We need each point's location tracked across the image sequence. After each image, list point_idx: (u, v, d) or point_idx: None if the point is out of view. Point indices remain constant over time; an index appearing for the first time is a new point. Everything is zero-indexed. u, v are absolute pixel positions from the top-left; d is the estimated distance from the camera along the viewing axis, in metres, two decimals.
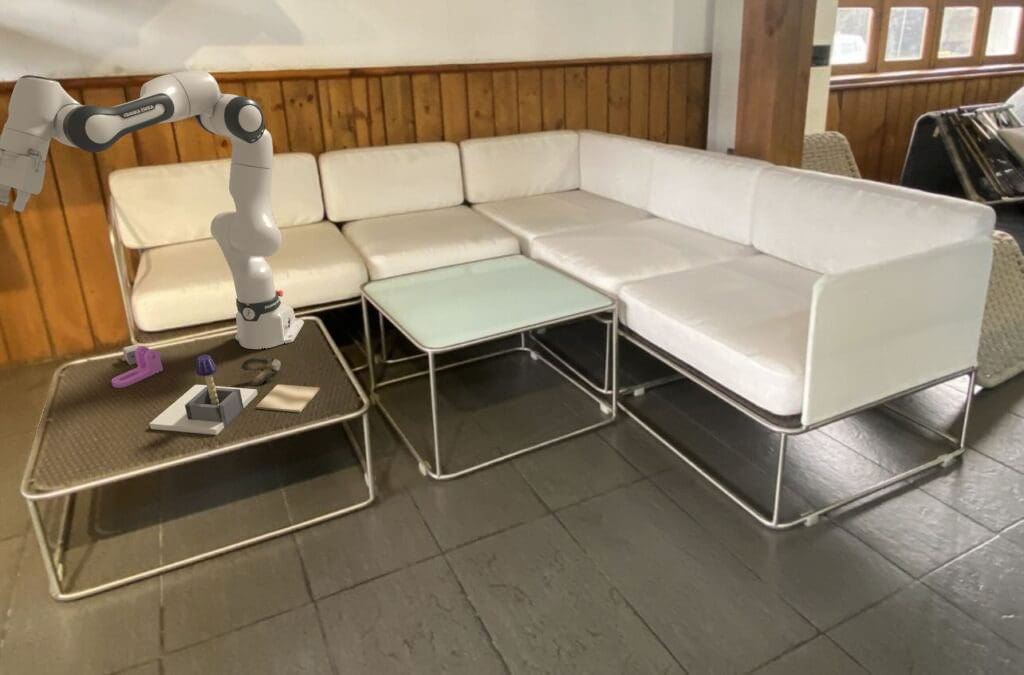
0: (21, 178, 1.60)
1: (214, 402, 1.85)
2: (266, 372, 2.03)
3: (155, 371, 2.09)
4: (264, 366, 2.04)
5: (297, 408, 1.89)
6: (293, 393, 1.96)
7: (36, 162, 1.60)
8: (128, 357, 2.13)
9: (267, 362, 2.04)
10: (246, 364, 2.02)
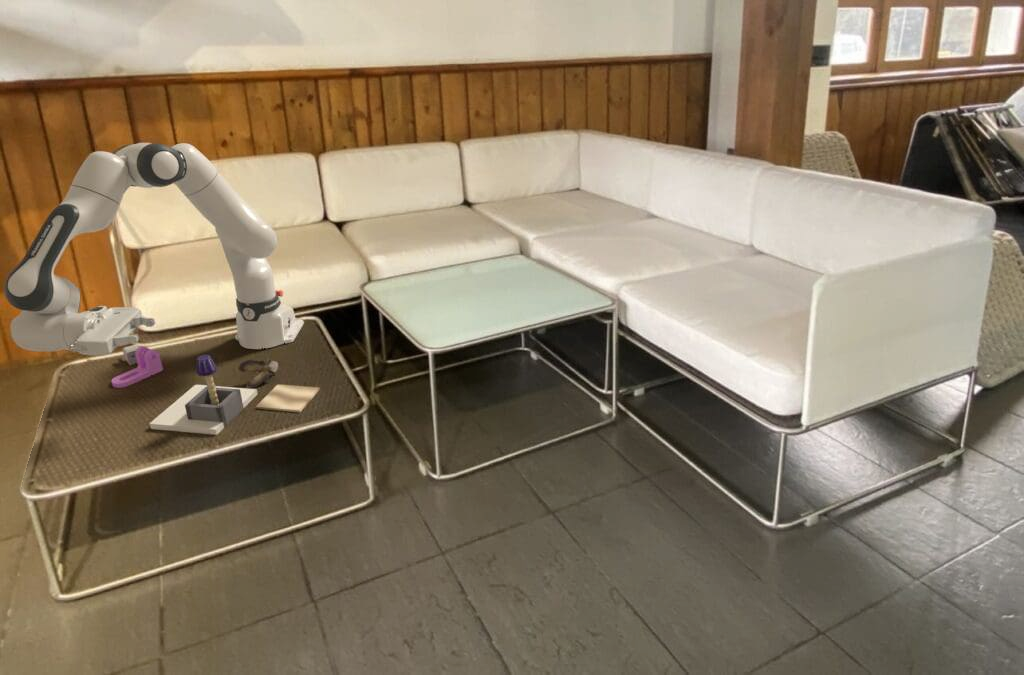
0: None
1: (214, 402, 1.85)
2: (263, 374, 2.02)
3: (155, 371, 2.09)
4: (261, 368, 2.03)
5: (297, 408, 1.89)
6: (293, 393, 1.96)
7: None
8: (128, 357, 2.13)
9: (264, 364, 2.03)
10: (243, 366, 2.01)
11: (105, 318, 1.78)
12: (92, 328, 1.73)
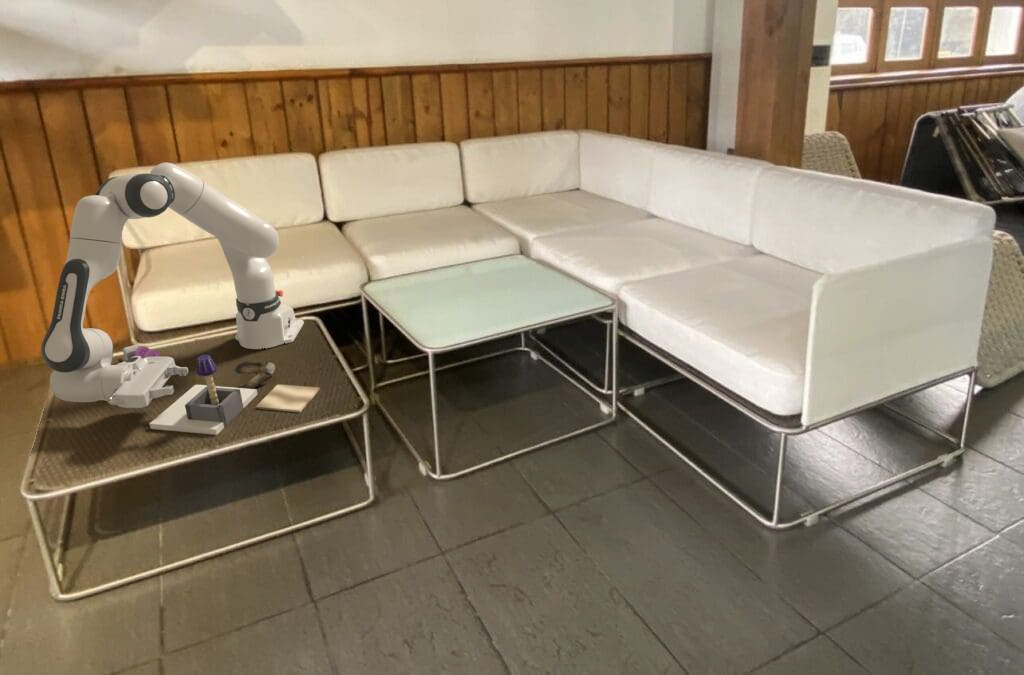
0: None
1: (214, 402, 1.85)
2: (260, 375, 2.01)
3: None
4: (258, 369, 2.02)
5: (297, 408, 1.89)
6: (293, 393, 1.96)
7: None
8: (128, 357, 2.13)
9: (261, 365, 2.02)
10: (240, 368, 2.00)
11: (140, 369, 1.84)
12: (129, 380, 1.79)
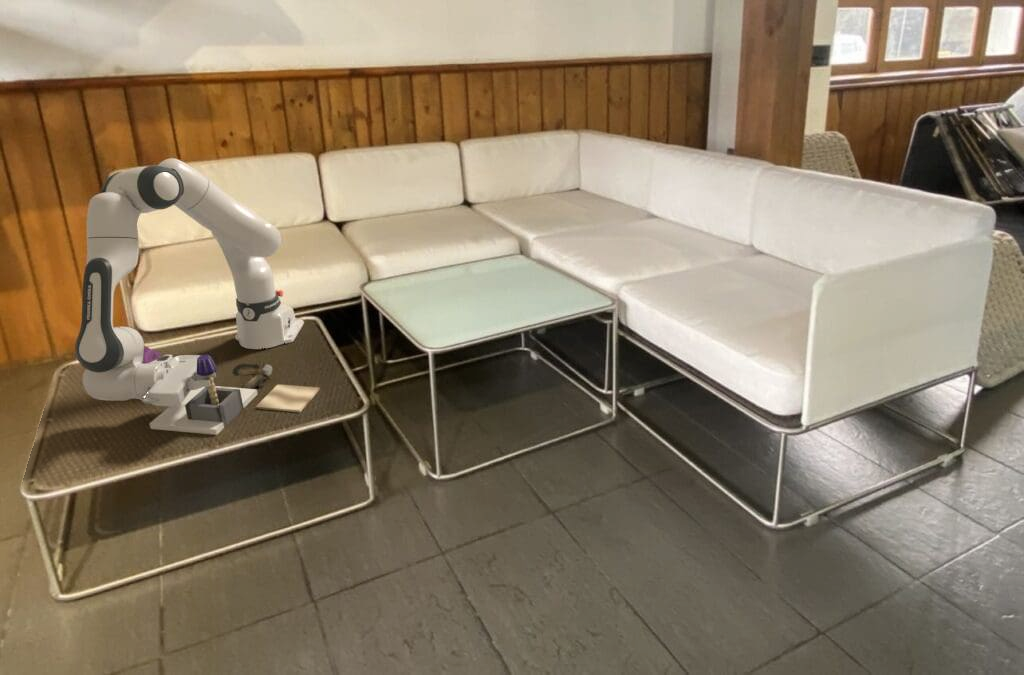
0: None
1: (214, 402, 1.85)
2: (257, 377, 2.00)
3: None
4: (255, 371, 2.01)
5: (297, 408, 1.89)
6: (293, 393, 1.96)
7: None
8: None
9: (258, 367, 2.01)
10: (237, 369, 1.99)
11: (172, 367, 1.84)
12: (162, 378, 1.79)
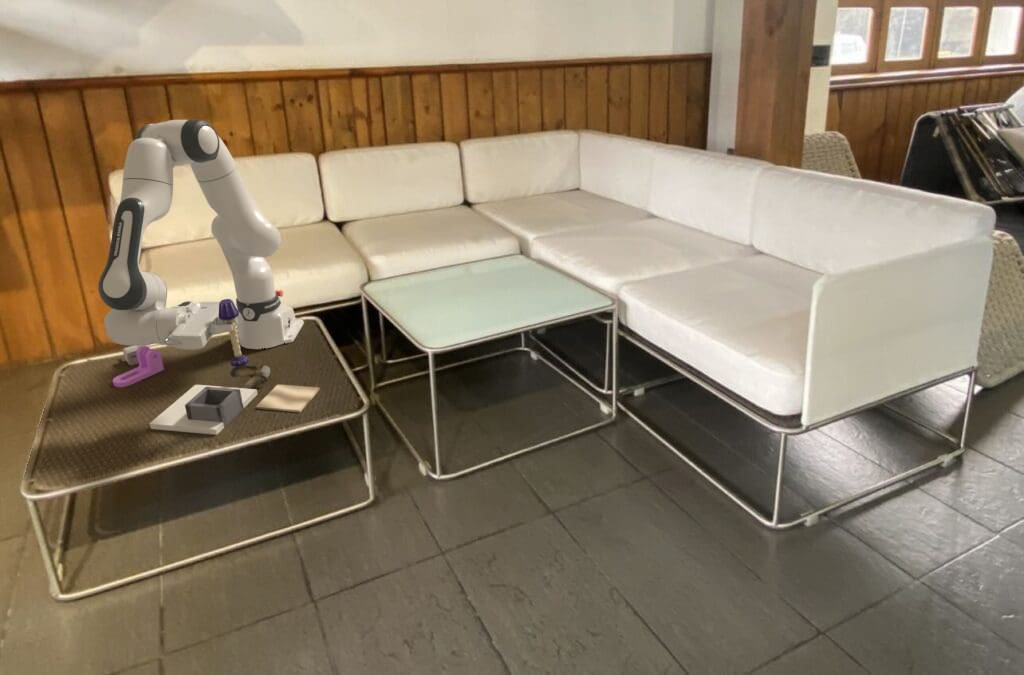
0: None
1: (236, 348, 1.82)
2: (255, 379, 2.00)
3: (156, 371, 2.09)
4: (253, 373, 2.00)
5: (297, 408, 1.89)
6: (293, 393, 1.96)
7: None
8: (128, 358, 2.13)
9: (256, 369, 2.00)
10: (235, 371, 1.99)
11: (194, 313, 1.82)
12: (184, 323, 1.77)
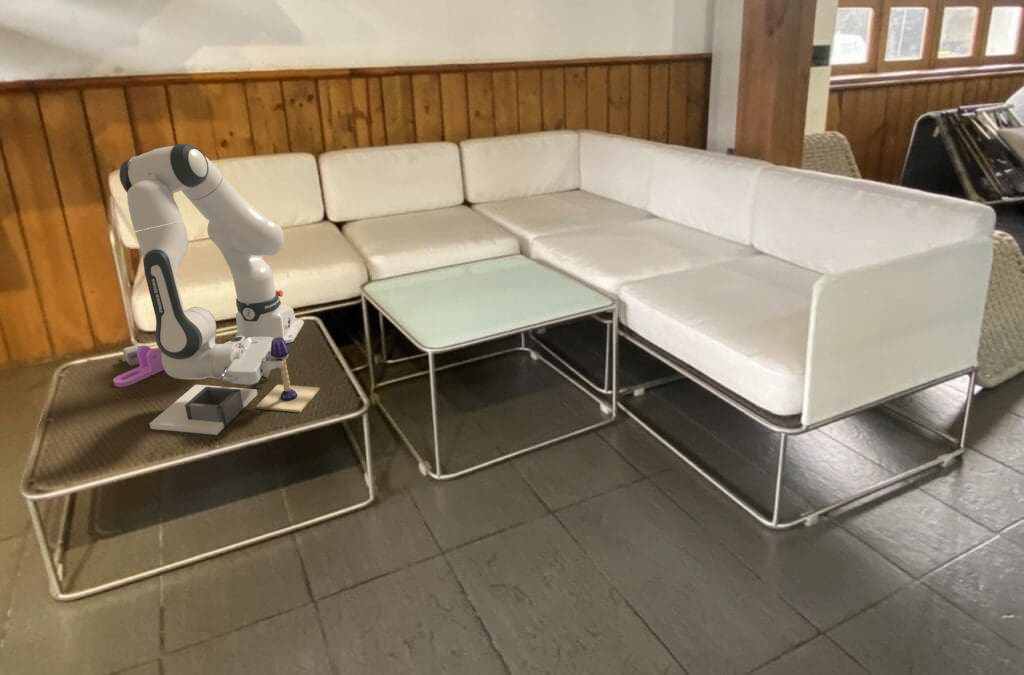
0: None
1: (286, 383, 1.92)
2: None
3: (157, 370, 2.09)
4: None
5: (297, 408, 1.89)
6: None
7: None
8: (128, 358, 2.13)
9: None
10: None
11: (246, 348, 1.91)
12: (238, 358, 1.86)
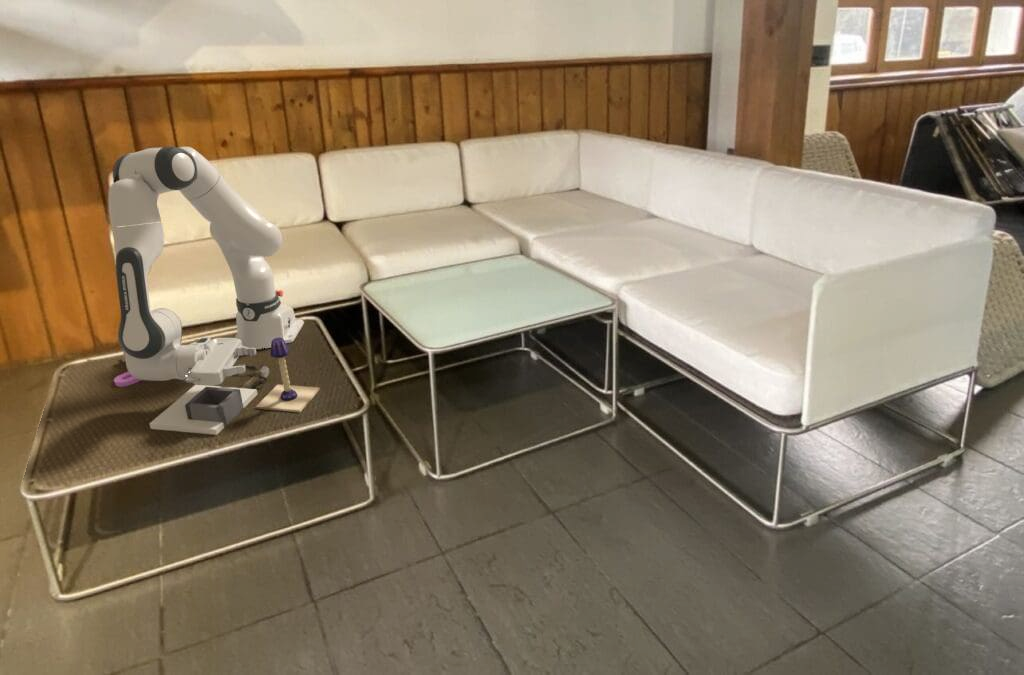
0: None
1: (286, 383, 1.92)
2: (254, 379, 1.99)
3: None
4: (252, 373, 2.00)
5: (297, 408, 1.89)
6: None
7: None
8: None
9: (256, 369, 2.00)
10: None
11: (211, 349, 1.91)
12: (202, 359, 1.86)
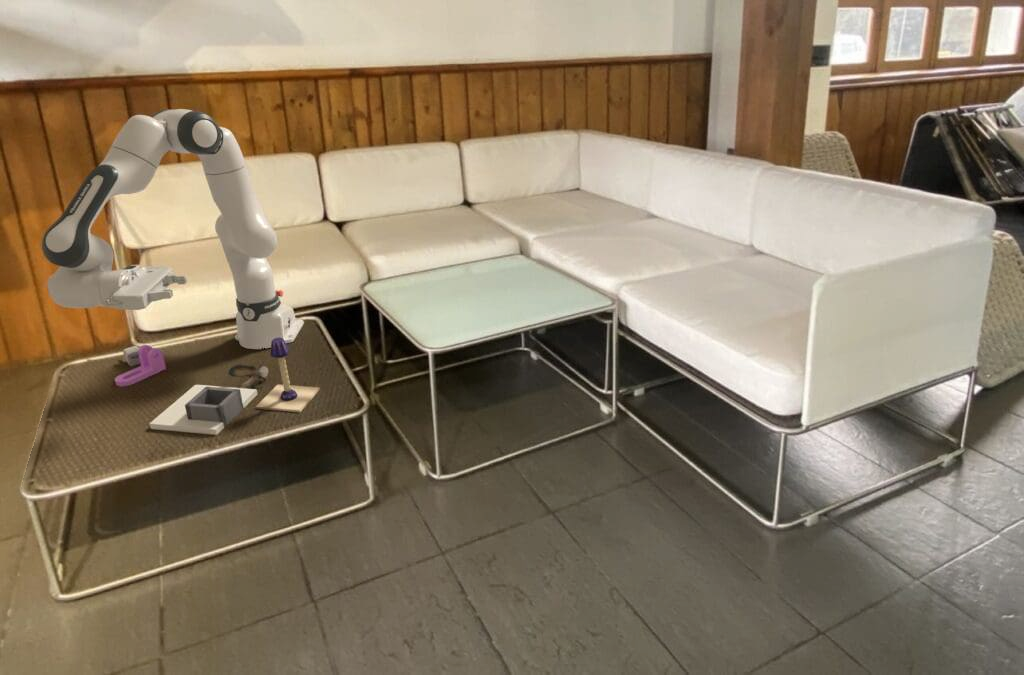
0: None
1: (286, 383, 1.92)
2: (253, 379, 2.00)
3: (158, 370, 2.10)
4: (251, 373, 2.00)
5: (297, 408, 1.89)
6: None
7: None
8: (129, 358, 2.12)
9: (255, 369, 2.00)
10: (233, 370, 1.99)
11: (139, 276, 1.82)
12: (127, 284, 1.77)
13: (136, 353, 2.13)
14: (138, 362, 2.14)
